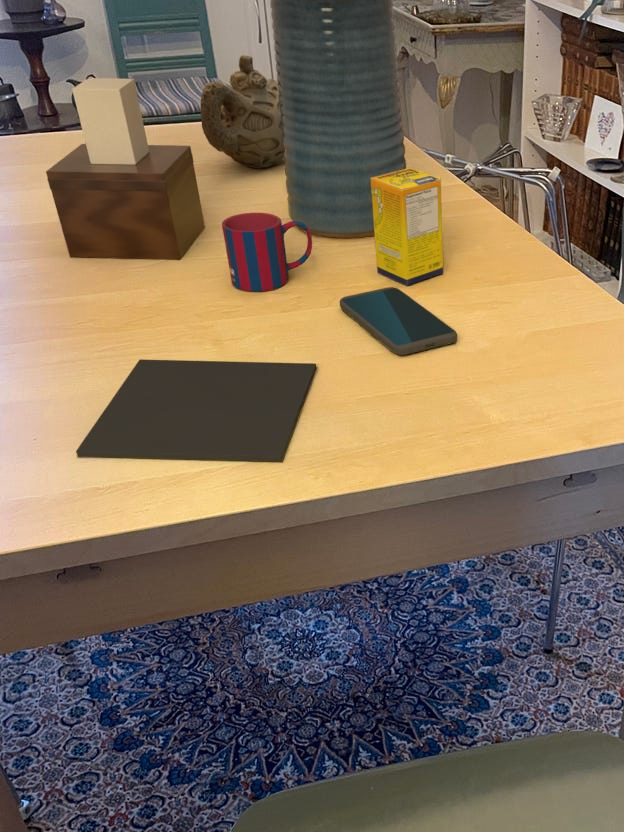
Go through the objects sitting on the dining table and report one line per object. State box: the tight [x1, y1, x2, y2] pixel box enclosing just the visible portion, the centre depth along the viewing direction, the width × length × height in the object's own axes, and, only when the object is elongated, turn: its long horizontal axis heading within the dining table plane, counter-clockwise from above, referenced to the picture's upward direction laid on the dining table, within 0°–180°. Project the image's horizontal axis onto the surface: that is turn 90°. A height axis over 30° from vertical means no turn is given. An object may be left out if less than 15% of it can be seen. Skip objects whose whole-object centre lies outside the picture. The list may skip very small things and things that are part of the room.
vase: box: [269, 0, 407, 239], centre depth 118 cm, size 16×16×32 cm
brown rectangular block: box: [45, 143, 206, 261], centre depth 118 cm, size 14×12×10 cm
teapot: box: [199, 54, 284, 169], centre depth 141 cm, size 21×12×15 cm, turn 159°
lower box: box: [71, 77, 149, 165], centre depth 112 cm, size 6×6×8 cm
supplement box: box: [371, 167, 444, 287], centre depth 110 cm, size 6×6×11 cm
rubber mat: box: [75, 358, 318, 463], centre depth 88 cm, size 18×18×1 cm
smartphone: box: [339, 286, 458, 356], centre depth 102 cm, size 8×15×1 cm, turn 31°
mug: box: [221, 212, 313, 293], centre depth 110 cm, size 7×10×7 cm
